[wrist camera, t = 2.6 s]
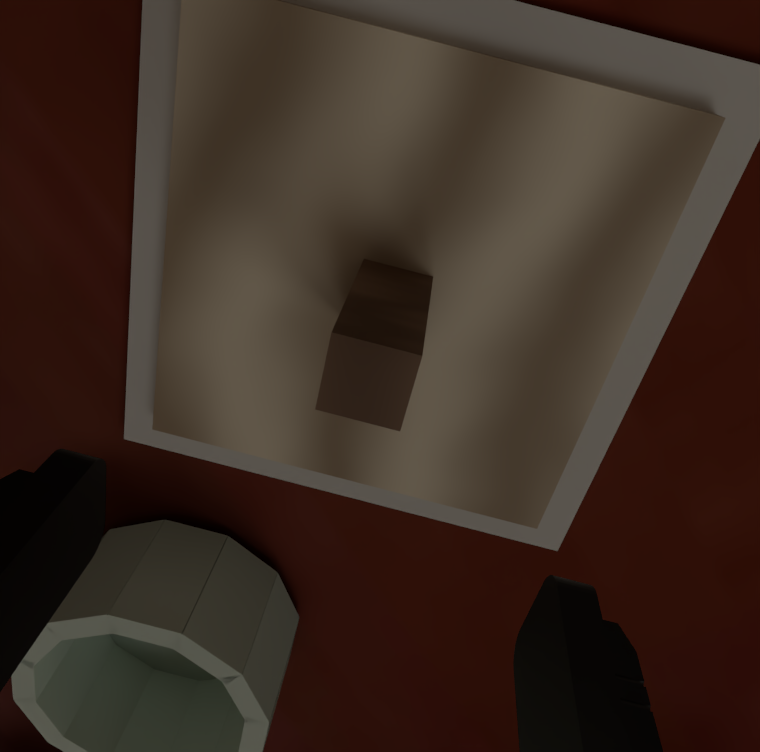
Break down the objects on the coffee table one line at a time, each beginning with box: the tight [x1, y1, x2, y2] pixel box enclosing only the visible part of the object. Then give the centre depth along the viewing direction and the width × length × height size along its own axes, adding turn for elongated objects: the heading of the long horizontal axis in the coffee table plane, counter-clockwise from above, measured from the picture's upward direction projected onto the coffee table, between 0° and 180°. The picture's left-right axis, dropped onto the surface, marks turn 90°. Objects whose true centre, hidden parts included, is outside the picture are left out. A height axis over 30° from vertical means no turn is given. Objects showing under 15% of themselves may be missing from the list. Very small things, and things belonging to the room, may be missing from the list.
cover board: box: [152, 0, 725, 529], centre depth 20 cm, size 16×16×7 cm
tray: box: [124, 0, 760, 551], centre depth 24 cm, size 19×19×1 cm
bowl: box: [12, 520, 299, 752], centre depth 30 cm, size 11×11×6 cm
